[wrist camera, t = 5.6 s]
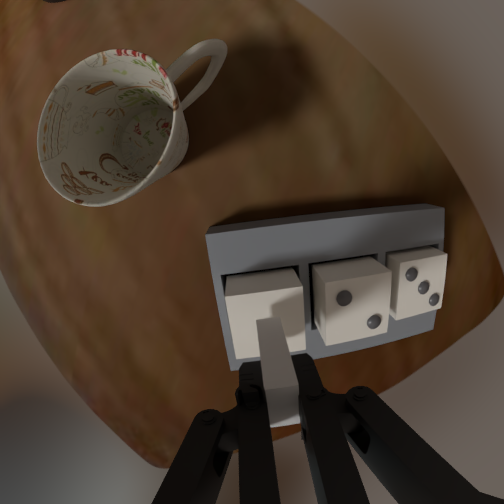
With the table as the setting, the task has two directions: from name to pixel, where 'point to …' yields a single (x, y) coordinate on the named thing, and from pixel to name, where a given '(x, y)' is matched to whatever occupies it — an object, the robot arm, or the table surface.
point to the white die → (351, 299)
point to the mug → (118, 123)
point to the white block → (265, 308)
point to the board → (323, 259)
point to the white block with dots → (416, 280)
